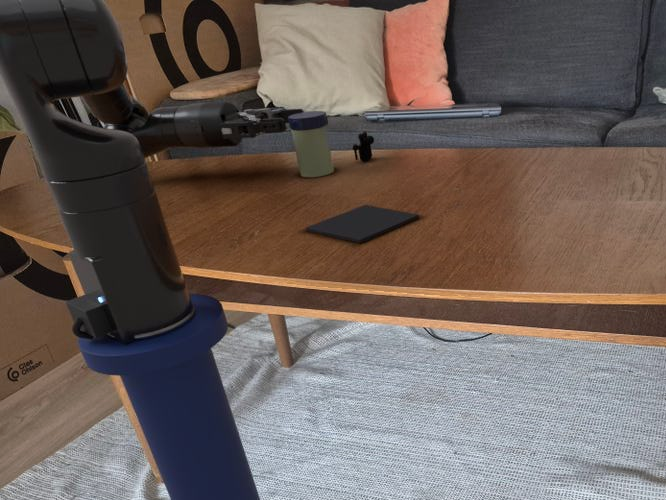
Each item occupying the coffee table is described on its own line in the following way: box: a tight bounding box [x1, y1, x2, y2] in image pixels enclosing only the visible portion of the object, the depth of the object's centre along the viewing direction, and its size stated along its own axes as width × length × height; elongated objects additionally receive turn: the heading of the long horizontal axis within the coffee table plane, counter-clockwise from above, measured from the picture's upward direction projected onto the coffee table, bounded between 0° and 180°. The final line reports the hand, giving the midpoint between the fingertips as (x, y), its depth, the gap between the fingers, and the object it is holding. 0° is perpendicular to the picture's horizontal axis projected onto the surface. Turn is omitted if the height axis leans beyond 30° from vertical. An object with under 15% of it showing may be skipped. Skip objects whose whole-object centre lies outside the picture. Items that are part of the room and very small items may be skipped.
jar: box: [290, 125, 335, 178], centre depth 118 cm, size 6×6×10 cm
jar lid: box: [288, 110, 329, 130], centre depth 116 cm, size 7×7×2 cm
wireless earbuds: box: [352, 131, 375, 163], centre depth 124 cm, size 7×2×5 cm, turn 159°
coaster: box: [305, 204, 420, 244], centre depth 92 cm, size 11×11×1 cm
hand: (294, 119), depth 116 cm, fingers open, 8 cm apart
